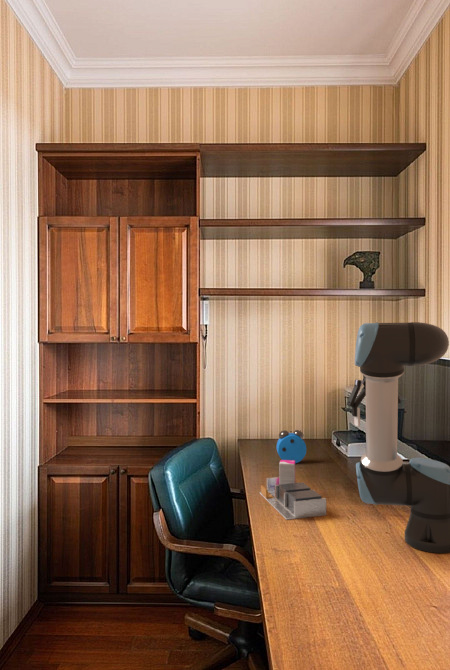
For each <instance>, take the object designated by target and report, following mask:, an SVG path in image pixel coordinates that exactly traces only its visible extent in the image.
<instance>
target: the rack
mask: <svg viewBox="0 0 450 670" xmlns="http://www.w3.org/2000/svg"><path fill="white" fill-rule="evenodd" d="M259 494H260V495H261V496H262V497H263V498H264V499H265V500H266V501H267V502H268V503H269V504H270V506H271V507H273V508H274V509H275V510H276V511H277V512H278V513H279V514H280V516H282V517H283V518H284V519H285V520H286V521H287V520H296V519H305V518H312V517H313V518H314V517H320V516H321V517H322V516H327V498H326V497H322V495H321V494H320V493H318V492H316V490H315V489H311V487H310V486H308V485H307V484H306V483H305V482H304V481H303V482H302V481H300V482H295V483H290V484H280V485H279V476H275V477H274V476H273V477H266V487H265V486H264V485H263V484H262V485H260V491H259Z"/></svg>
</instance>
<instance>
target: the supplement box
mask: <svg viewBox="0 0 450 670" xmlns="http://www.w3.org/2000/svg"><path fill="white" fill-rule="evenodd" d="M278 464H279V465H278V467H279V468H278V469H279V470H278V474H279V475H278V477H279V485H280V484H290V483H296V463H295V461H294V460H282V459H281V460H279V463H278Z"/></svg>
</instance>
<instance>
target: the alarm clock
mask: <svg viewBox="0 0 450 670" xmlns="http://www.w3.org/2000/svg"><path fill="white" fill-rule="evenodd" d="M278 438H279V439H277V442H276V451H277V454H278V456H279V458H280V459H281V460H294V461H295V464H298V463H300V462H301V461H302V460H304V458H305V456H306V454H307V445H306V441H304V439H303V438H304V433H303V431H302V430H299V429H294V431H288V430H287V429H286V430H284V429H283V430H281V431H280V432H279V434H278Z"/></svg>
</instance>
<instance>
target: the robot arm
mask: <svg viewBox="0 0 450 670" xmlns="http://www.w3.org/2000/svg"><path fill="white" fill-rule="evenodd" d="M355 341H356V342H355V352H354V365H355V366H356V367H358V368H359V372H360V374H361V376H362V380H360V379H355V380H354V385H353V388H352V390H351V393H350V395H349V398H348V400H347V402H346V405H347V406H349V407H351V413H352V414H351V415H352V417H353V418H354V419H353V420H354V426H356V427H360V426H361V411H360V410H361V408H360V407H359V405H360V404H362V402H363V400H364V399H365V440H366V441H365V451H366V452H364V453H363V454H362V455H361V457H360V461H359V462H356V463H355V470H356V471H355V472H356V473H355V474H356V478H357V479H356V480H357V487H358V493H359V497H360V499H361V501H362V502H363V503H364V504H369V505H370V504H372V505H376V506H378V505H386V506H406V507H407V506H409V507H410V514H409V517H408V520H407V524H406V526H405V527H406V528H405V529H404V541H405V543H406V544H407V545H408V546H410V547H411V548H413V549H416V550H419V551H422V552H428V553H434V554H448V553H450V466H449V465H448V464H447V463H444V462H441V461H438V460H437V459H436V460H435V459H432V458H431V459H430V458H425V457H412V458H410V459H409V462H408V463H404V461H403V458H402V457H401V456H400V455H398V424H399V423H398V421H399V418H398V414H399V413H398V411H399V409H398V407H399V404H400V403H401V402H402V401H401V399H400V396H399V378H400V377H402V376H403V375H404V374H405V367H412V366H413V367H414V366H425V365H428V364H431V363H434V362H436V361H438V360H440V359H441V358H443V357H444V356H445V355H446V353H447V352H448V350H449V345H450V341H449V337H448V334H447V333H446V331H444V329H442V328H441V327H440V326H437V325H434V324H430V323H426V322H419V321H417V322H416V321H415V322H414V321H411V322H365V323H362V324H361V325H360V326H359V328H358V330H357V335H356V340H355ZM362 386H363V387H362ZM361 387H362V388H361ZM360 389H361V391H360Z"/></svg>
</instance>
